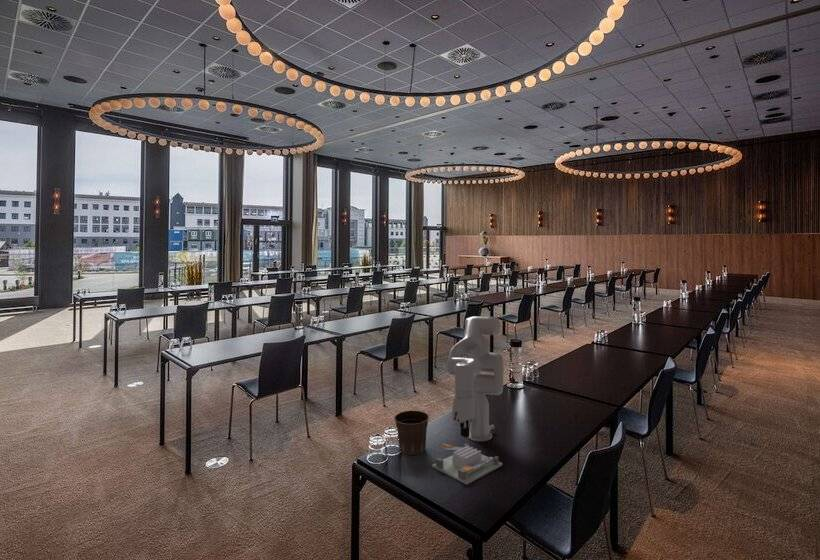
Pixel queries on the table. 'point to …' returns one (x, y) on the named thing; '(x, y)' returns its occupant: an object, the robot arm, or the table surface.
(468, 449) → the cooler board
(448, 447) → the strap
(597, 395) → the table surface
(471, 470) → the strap
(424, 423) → the plant pot
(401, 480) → the table surface
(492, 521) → the table surface
